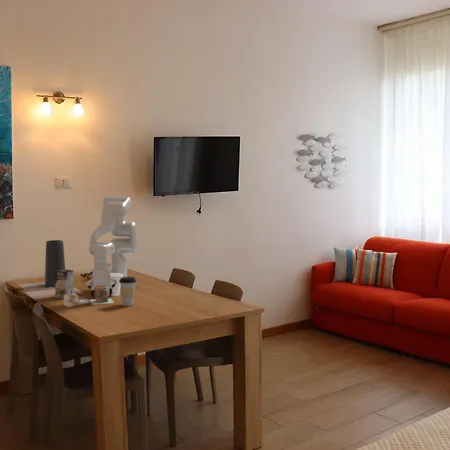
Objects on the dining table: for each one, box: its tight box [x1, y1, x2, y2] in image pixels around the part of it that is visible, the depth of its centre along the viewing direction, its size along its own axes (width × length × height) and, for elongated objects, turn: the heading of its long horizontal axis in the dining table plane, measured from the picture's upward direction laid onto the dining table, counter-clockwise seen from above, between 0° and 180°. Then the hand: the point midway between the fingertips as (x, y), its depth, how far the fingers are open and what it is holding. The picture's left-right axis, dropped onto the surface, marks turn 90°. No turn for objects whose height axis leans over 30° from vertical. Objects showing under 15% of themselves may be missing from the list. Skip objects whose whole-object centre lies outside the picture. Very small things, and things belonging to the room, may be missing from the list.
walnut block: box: [95, 288, 109, 303], centre depth 341 cm, size 6×6×6 cm
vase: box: [44, 239, 66, 288], centre depth 390 cm, size 14×14×29 cm
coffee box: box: [54, 268, 75, 300], centre depth 353 cm, size 9×6×16 cm
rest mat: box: [89, 298, 115, 306], centre depth 341 cm, size 12×12×1 cm
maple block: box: [63, 293, 79, 308], centre depth 333 cm, size 6×6×6 cm
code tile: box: [78, 298, 90, 304], centre depth 343 cm, size 10×10×1 cm
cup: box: [105, 272, 123, 297], centre depth 360 cm, size 12×12×12 cm
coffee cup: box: [119, 276, 137, 307], centre depth 334 cm, size 9×9×15 cm
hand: (101, 296), depth 341 cm, fingers open, 9 cm apart
